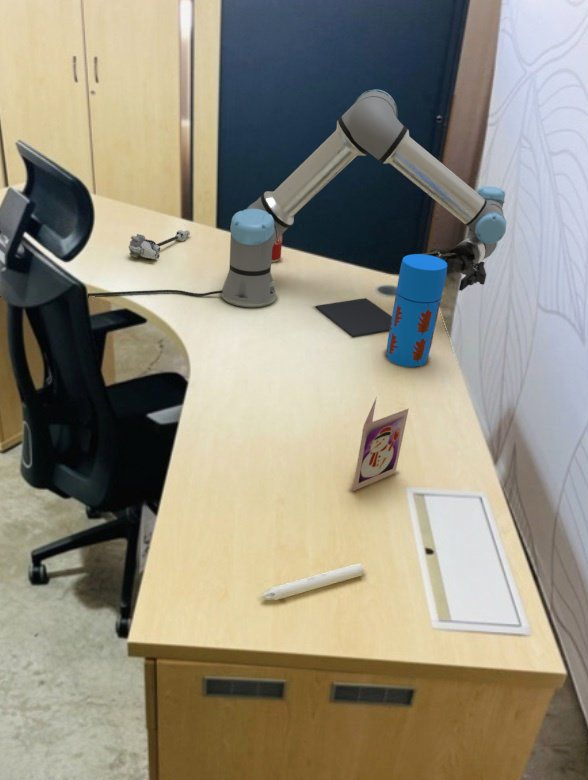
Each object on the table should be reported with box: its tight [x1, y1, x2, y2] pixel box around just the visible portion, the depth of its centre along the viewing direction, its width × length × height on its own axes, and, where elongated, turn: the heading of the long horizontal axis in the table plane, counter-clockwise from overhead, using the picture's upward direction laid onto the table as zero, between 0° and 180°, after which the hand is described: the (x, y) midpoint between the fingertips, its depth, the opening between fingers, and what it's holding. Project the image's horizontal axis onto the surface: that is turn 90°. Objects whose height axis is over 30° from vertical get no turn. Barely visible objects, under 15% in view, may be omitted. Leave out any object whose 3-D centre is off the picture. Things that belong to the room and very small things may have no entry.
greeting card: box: [352, 395, 409, 492], centre depth 145 cm, size 11×7×15 cm, turn 126°
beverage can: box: [271, 232, 284, 263], centre depth 239 cm, size 6×6×12 cm
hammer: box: [128, 229, 191, 260], centre depth 243 cm, size 10×7×30 cm
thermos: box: [385, 253, 448, 368], centre depth 185 cm, size 11×11×25 cm
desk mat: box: [315, 297, 392, 338], centre depth 210 cm, size 17×20×1 cm
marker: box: [262, 562, 365, 601], centre depth 122 cm, size 18×2×2 cm, turn 114°
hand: (435, 278), depth 188 cm, fingers open, 13 cm apart
